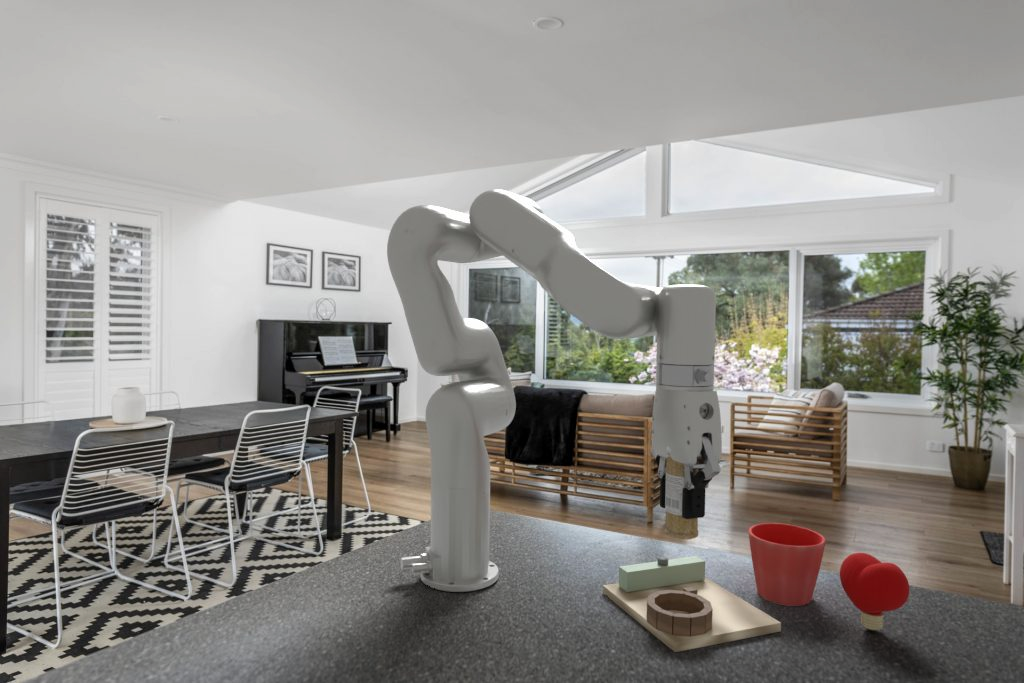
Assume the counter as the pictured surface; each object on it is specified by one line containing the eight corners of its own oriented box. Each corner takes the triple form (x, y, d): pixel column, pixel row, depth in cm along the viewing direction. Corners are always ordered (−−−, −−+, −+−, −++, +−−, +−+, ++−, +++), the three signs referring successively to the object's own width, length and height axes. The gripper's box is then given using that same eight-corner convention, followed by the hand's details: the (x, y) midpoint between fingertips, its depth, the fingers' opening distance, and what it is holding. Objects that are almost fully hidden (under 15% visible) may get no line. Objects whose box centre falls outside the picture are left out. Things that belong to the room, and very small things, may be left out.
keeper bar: (626, 592, 100) (627, 567, 100) (618, 585, 102) (619, 561, 102) (704, 580, 105) (705, 556, 105) (695, 574, 107) (696, 550, 107)
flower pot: (832, 614, 96) (834, 548, 96) (752, 607, 99) (754, 542, 98) (814, 585, 107) (816, 525, 106) (742, 579, 109) (743, 520, 109)
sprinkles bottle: (705, 539, 89) (707, 438, 89) (674, 541, 88) (676, 440, 87) (687, 528, 93) (689, 432, 93) (657, 531, 92) (659, 433, 92)
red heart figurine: (824, 620, 95) (827, 550, 94) (860, 612, 97) (862, 544, 97) (884, 651, 86) (887, 575, 86) (921, 641, 89) (924, 567, 88)
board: (673, 652, 85) (674, 624, 85) (601, 593, 103) (601, 569, 103) (780, 631, 91) (781, 604, 91) (695, 578, 109) (696, 556, 109)
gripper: (750, 383, 83) (746, 528, 84) (672, 371, 99) (669, 493, 100) (700, 384, 80) (696, 534, 81) (627, 372, 96) (625, 498, 97)
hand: (681, 510), depth 90 cm, fingers closed on sprinkles bottle, 4 cm apart
